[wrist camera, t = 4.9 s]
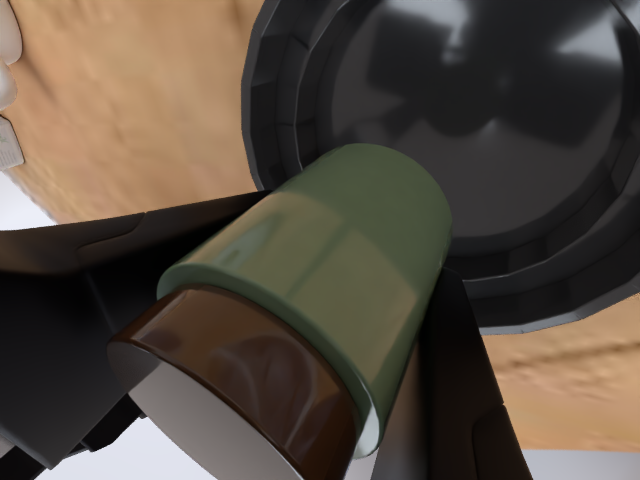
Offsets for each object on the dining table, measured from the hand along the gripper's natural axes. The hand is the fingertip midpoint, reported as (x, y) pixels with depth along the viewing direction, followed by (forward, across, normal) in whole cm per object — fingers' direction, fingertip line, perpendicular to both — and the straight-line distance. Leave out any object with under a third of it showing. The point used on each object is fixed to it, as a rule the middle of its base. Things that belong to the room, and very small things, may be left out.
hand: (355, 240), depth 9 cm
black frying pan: (+9, 0, 0) cm, 9 cm away
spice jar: (+1, 0, 0) cm, 1 cm away
